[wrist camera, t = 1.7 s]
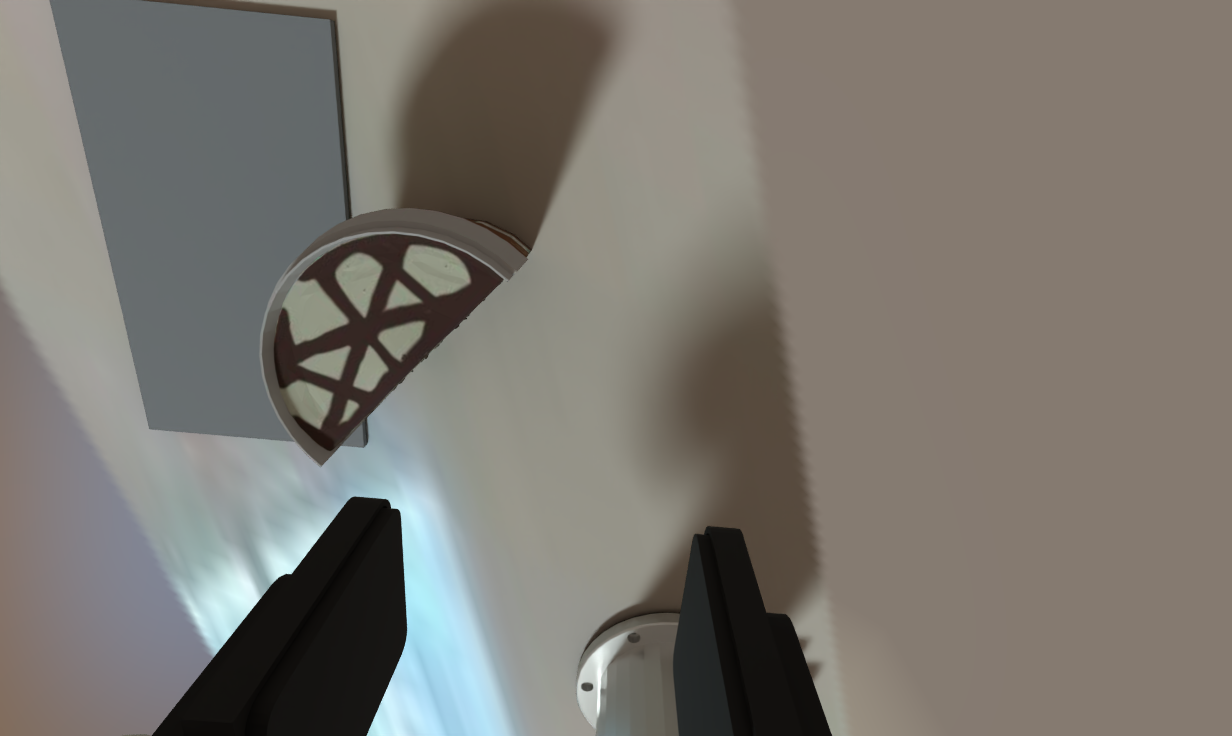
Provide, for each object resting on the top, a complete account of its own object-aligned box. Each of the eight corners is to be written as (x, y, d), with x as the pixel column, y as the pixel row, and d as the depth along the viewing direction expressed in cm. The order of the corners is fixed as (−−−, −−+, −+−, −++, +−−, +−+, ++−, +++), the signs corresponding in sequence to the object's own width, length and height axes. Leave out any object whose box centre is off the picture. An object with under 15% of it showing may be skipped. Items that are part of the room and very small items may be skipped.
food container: (461, 135, 28) (381, 133, 19) (552, 229, 30) (519, 270, 20) (312, 303, 31) (179, 372, 22) (401, 380, 33) (312, 475, 23)
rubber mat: (334, 21, 26) (329, 19, 26) (366, 444, 34) (363, 447, 34) (55, -7, 26) (47, -10, 26) (154, 425, 34) (149, 429, 34)
